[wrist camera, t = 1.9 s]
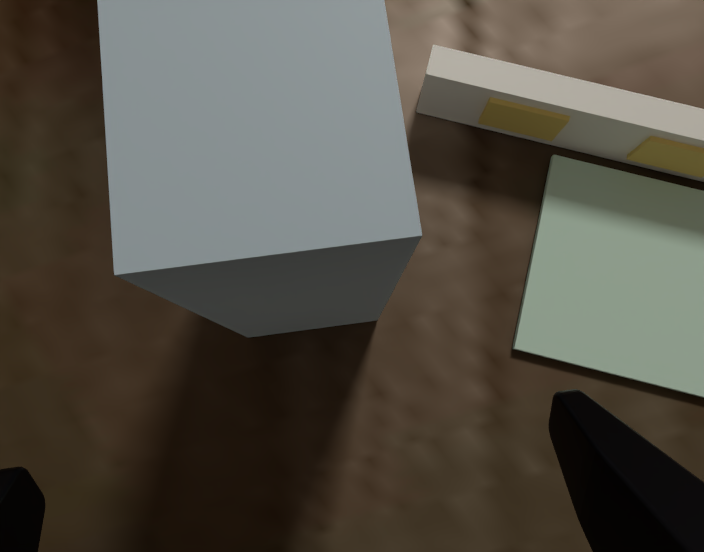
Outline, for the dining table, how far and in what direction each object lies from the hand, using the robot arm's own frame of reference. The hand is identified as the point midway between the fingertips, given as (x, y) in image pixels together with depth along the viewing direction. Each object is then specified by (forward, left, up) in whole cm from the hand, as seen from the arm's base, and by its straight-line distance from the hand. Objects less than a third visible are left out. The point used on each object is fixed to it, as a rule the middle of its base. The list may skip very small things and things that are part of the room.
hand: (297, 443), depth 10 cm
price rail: (+16, -5, -12) cm, 21 cm away
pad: (+11, -6, -12) cm, 18 cm away
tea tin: (+4, +4, -12) cm, 13 cm away
